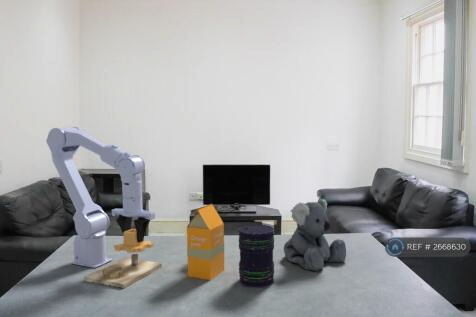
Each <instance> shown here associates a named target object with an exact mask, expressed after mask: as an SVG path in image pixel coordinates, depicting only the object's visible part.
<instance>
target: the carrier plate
mask: <svg viewBox="0 0 476 317" xmlns="http://www.w3.org/2000/svg"><path fill="white" fill-rule="evenodd" d="M161 268H162V263H161V262H156V261H150V260H149V261H148V260H142V259H139V254H138V253H133V254H132V253H131V255H130V257H123V258H121V259H119V260H117V261H115V262H112V263H110V264H108V265H106V266H104V267H102V268H100V269H99V268H98V270H95V271H93V272H91V273H89V274H87V275H85V276H83V281H84V282H88V283H93V282H94V284H98V285H103V284H104V285H103V286H109V285H111V286H110V287H114V286H115V287H114V288H119V287H121V288H120V289H126V288H127V287H129V286H131V285H132V284H135V283H136V282H138V281H140V280H142V279H144V278H145V277H147V276H149V275H150V274H152V273H154V272H156V271H157V270H159V269H161Z"/></svg>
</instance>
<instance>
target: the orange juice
mask: <svg viewBox="0 0 476 317" xmlns="http://www.w3.org/2000/svg"><path fill="white" fill-rule="evenodd" d="M224 223H225V222H223V220H222V218H221V216H220V214H219V213H218V211H217V210H216V208H215V206H214V205H213V203H210V204H208V205H206V206H203V207H200V208H199V209H197V210H196V212H195V214H194V215H193V217H192V218H191V219H190V221H189V223H188V225H187V226H186V244H187V248H186V249H187V250H186V251H187V252H186V255H187V256H186V257H187V277H189V278H190V277H191V278H197V279H202V280H208V281H211V280H213V279H214V278H216V277H217V276H218V275H220V274H221V273H223V272H224V271H225V224H224Z"/></svg>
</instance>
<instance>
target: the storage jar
mask: <svg viewBox="0 0 476 317" xmlns="http://www.w3.org/2000/svg"><path fill="white" fill-rule="evenodd" d="M274 232H275V229H274V227H273V226H270V225H266V224H265V225H264V224H246V225H243V226H240V227H239V229H238V233H239V234H238V249H239V261H238V262H239V263H238V272H239V274H238V275H239V284H240V285H242V286H244V287H248V288H252V289H253V288H254V289H255V288H256V289H257V288H258V289H260V288H266V287H271V286H272V285H273V284H274V282H275V279H274V278H275V277H274V276H275V275H274V274H275V262H274V249H275V236H274V235H275V234H274Z"/></svg>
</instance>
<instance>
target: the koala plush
mask: <svg viewBox="0 0 476 317" xmlns="http://www.w3.org/2000/svg"><path fill="white" fill-rule="evenodd" d="M327 206H328V203H327V201H326V199H323V198H320V199H318V200H317V201H315V202H313V201H310V202H306V203H303V202H298V203H296V204H295V205H294V206H293V207H292V209H291V210H290V213H291V218H292V220H293V221H294V222H295V223H296V226H297V227H296V229H295V230H294V233H293V234H292V235H291V237H290V238H289V239H288V240H287V241H286V242H285V243H284V245H283V253H284V256H285V258H286V259H287V261H289V262H290V263H292V264H298V265H299V267H301V268H304V269H306V270H309V271H315V272H316V271H317V272H318V271H321V269H323V268H324V265H325V264H324V262H329V263H343V262H345V261H346V257H347V248H346V247H347V246H346V242H345V241H344V239H339V238H338V239H335V240H333V241H332V242H331V244H330V245H329V243H328V240H327V238H326V237H325V236H324V235H325V234H326V233H327V232H328V231H329V230H330V229H331V225H330V222H329V219H328V216H327V213H326V211H327V208H328V207H327Z"/></svg>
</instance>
